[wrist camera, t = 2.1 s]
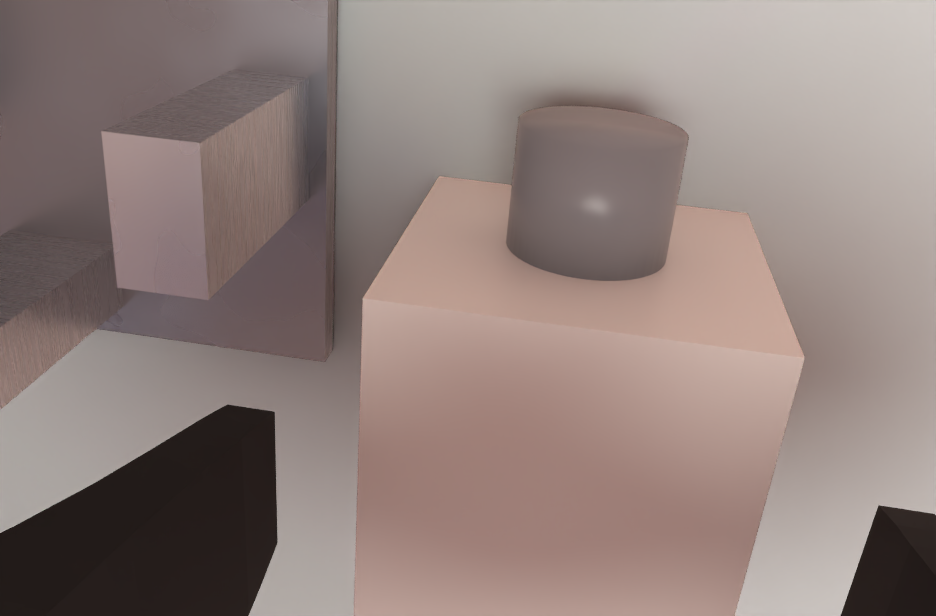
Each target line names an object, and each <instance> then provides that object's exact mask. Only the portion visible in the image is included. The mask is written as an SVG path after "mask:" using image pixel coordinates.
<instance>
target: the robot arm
mask: <svg viewBox="0 0 936 616" xmlns="http://www.w3.org/2000/svg"><path fill="white" fill-rule="evenodd" d="M276 545H277V505H276V459H275V413H274V412H272V411H265V410H259V409H252V408H246V407H239V406H233V405H226V406H224V407H222V408H220V409H219V410H217V411H215V412H213V413H211V414H210V415H208V416H206V417H204V418H203V419H201V420H199V421H198V422H196V423H194V424H193V425H191V426H189V427H188V428H186V429H184V430H183V431H181V432H179V433H178V434H176V435H175V436H173V437H171V438H170V439H168V440H166V441H165V442H163V443H161V444H160V445H158V446H156V447H155V448H153V449H152V450H150V451H148V452H146V453H145V454H143V455H141V456H140V457H138V458H136V459H135V460H133V461H131V462H130V463H128V464H126V465H125V466H123V467H121V468H119V469H118V470H116V471H114V472H113V473H111V474H109V475H108V476H106V477H104V478H103V479H101V480H99V481H97V482H96V483H94V484H92V485H90V486H89V487H87V488H85V489H83V490H81V491H79V492H77V493H76V494H74V495H72V496H70V497H68V498H66V499H64V500H62V501H61V502H59V503H57V504H55V505H53V506H51V507H49V508H48V509H46V510H44V511H42V512H40V513H38V514H36V515H35V516H33V517H31V518H29V519H27V520H25V521H23V522H21V523H20V524H18V525H16V526H14V527H12V528H10V529H8V530H6V531H4V532H2V533H0V616H248V615H249V613H250V611H251V608H252V606H253V603H254V601H255V598H256V596H257V594H258V591H259V589H260V586H261V584H262V581H263V579H264V576H265V573H266V571H267V568H268V566H269V563H270V560H271V558H272V555H273V553H274V550H275V547H276ZM841 616H936V515H935V514H931V513H924V512H918V511H911V510H905V509H898V508H892V507H885V506H878V509H877V512H876V515H875V518H874V520H873V523H872V526H871V529H870V532H869V535H868V538H867V541H866V544H865V547H864V550H863V553H862V555H861V558H860V561H859V564H858V567H857V570H856V573H855V576H854V579H853V582H852V585H851V587H850V590H849V593H848V596H847V599H846V602H845V605H844V608H843V611H842V614H841Z"/></svg>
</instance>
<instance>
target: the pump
mask: <svg viewBox="0 0 936 616" xmlns="http://www.w3.org/2000/svg"><path fill="white" fill-rule="evenodd" d="M688 140H689V136H688V134H687V133H686V132H685V131H684V130H683V129H681V128H680V127H678V126H676V125H674V124H672V123H669V122H667V121H664V120H661V119H658V118H655V117H651V116H647V115H643V114H639V113H634V112H629V111H623V110H617V109H609V108H600V107H588V106H551V107H542V108H536V109H532V110H528V111H526V112H524V113H522V114H521V115H520V116H519V119H518V129H517V139H516V148H515V158H514V168H513V178H512V185H509V184H501V183H492V182H484V181H476V180H468V179H459V178H451V177H443V176H439V177H438V178H437V180H436V182H435V183H434V185H433V186H432V188H431V190H430V191H429V193H428V194H427V196H426V198H425V199H424V201H423V202H422V204H421V206H420V207H419V209H418V210H417V212H416V214H415V215H414V217H413V218H412V220H411V222H410V223H409V225H408V226H407V228H406V230H405V231H404V233H403V235H402V236H401V238H400V239H399V241H398V243H397V244H396V246H395V247H394V249H393V251H392V252H391V254H390V255H389V257H388V259H387V260H386V262H385V263H384V265H383V267H382V268H381V270H380V271H379V273H378V275H377V276H376V278H375V279H374V281H373V283H372V284H371V286H370V287H369V289H368V291H367V292H366V294H365V295H364V297H363V306H362V342H361V378H360V414H359V449H358V485H357V521H356V557H355V593H354V616H735V612H736V608H737V605H738V601H739V597H740V594H741V590H742V586H743V583H744V579H745V575H746V572H747V568H748V564H749V561H750V557H751V554H752V550H753V546H754V543H755V539H756V535H757V532H758V528H759V524H760V521H761V517H762V513H763V510H764V506H765V502H766V499H767V495H768V491H769V488H770V484H771V480H772V477H773V473H774V469H775V466H776V462H777V458H778V455H779V451H780V447H781V444H782V440H783V436H784V433H785V429H786V425H787V422H788V418H789V414H790V411H791V407H792V403H793V400H794V396H795V392H796V389H797V385H798V381H799V378H800V374H801V370H802V367H803V363H804V359H805V357H804V355H803V352H802V350H801V347H800V345H799V342H798V340H797V337H796V335H795V332H794V330H793V327H792V325H791V322H790V320H789V317H788V314H787V312H786V309H785V307H784V304H783V302H782V299H781V297H780V294H779V292H778V289H777V287H776V284H775V282H774V279H773V277H772V274H771V271H770V269H769V266H768V264H767V261H766V259H765V256H764V254H763V251H762V249H761V246H760V244H759V241H758V239H757V236H756V234H755V231H754V228H753V226H752V223H751V221H750V218H749V216H748V213H741V212H732V211H724V210H716V209H708V208H699V207H691V206H683V205H676V204H677V199H678V193H679V188H680V183H681V177H682V172H683V167H684V161H685V156H686V150H687V145H688Z"/></svg>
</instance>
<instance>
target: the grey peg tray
mask: <svg viewBox="0 0 936 616" xmlns="http://www.w3.org/2000/svg"><path fill="white" fill-rule="evenodd" d="M336 65H337V0H0V410H1V409H2V408H3V407H4V406H5V405H6V404H8V403H9V402H10V401H11V400H12V399H14V398H15V397H16V396H17V395H18V394H20V393H21V392H22V391H23V390H24V389H25V388H27V387H28V386H29V385H30V384H31V383H33V382H34V381H35V380H36V379H37V378H39V377H40V376H41V375H42V374H43V373H45V372H46V371H47V370H48V369H49V368H50V367H52V366H53V365H54V364H55V363H56V362H58V361H59V360H60V359H61V358H62V357H64V356H65V355H66V354H67V353H68V352H69V351H71V350H72V349H73V348H74V347H75V346H77V345H78V344H79V343H80V342H81V341H83V340H84V339H85V338H86V337H87V336H89V335H90V334H91V333H92V332H93V331H94V330H96V329H102V330H109V331H115V332H122V333H129V334H136V335H143V336H150V337H157V338H164V339H171V340H178V341H184V342H191V343H198V344H205V345H212V346H219V347H226V348H233V349H240V350H246V351H253V352H260V353H267V354H274V355H281V356H288V357H295V358H302V359H309V360H315V361H322V362H325V361H326V359H327V358H328V356H329V355H330V353H331V351H332V350H333V307H334V226H335V146H336Z"/></svg>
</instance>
